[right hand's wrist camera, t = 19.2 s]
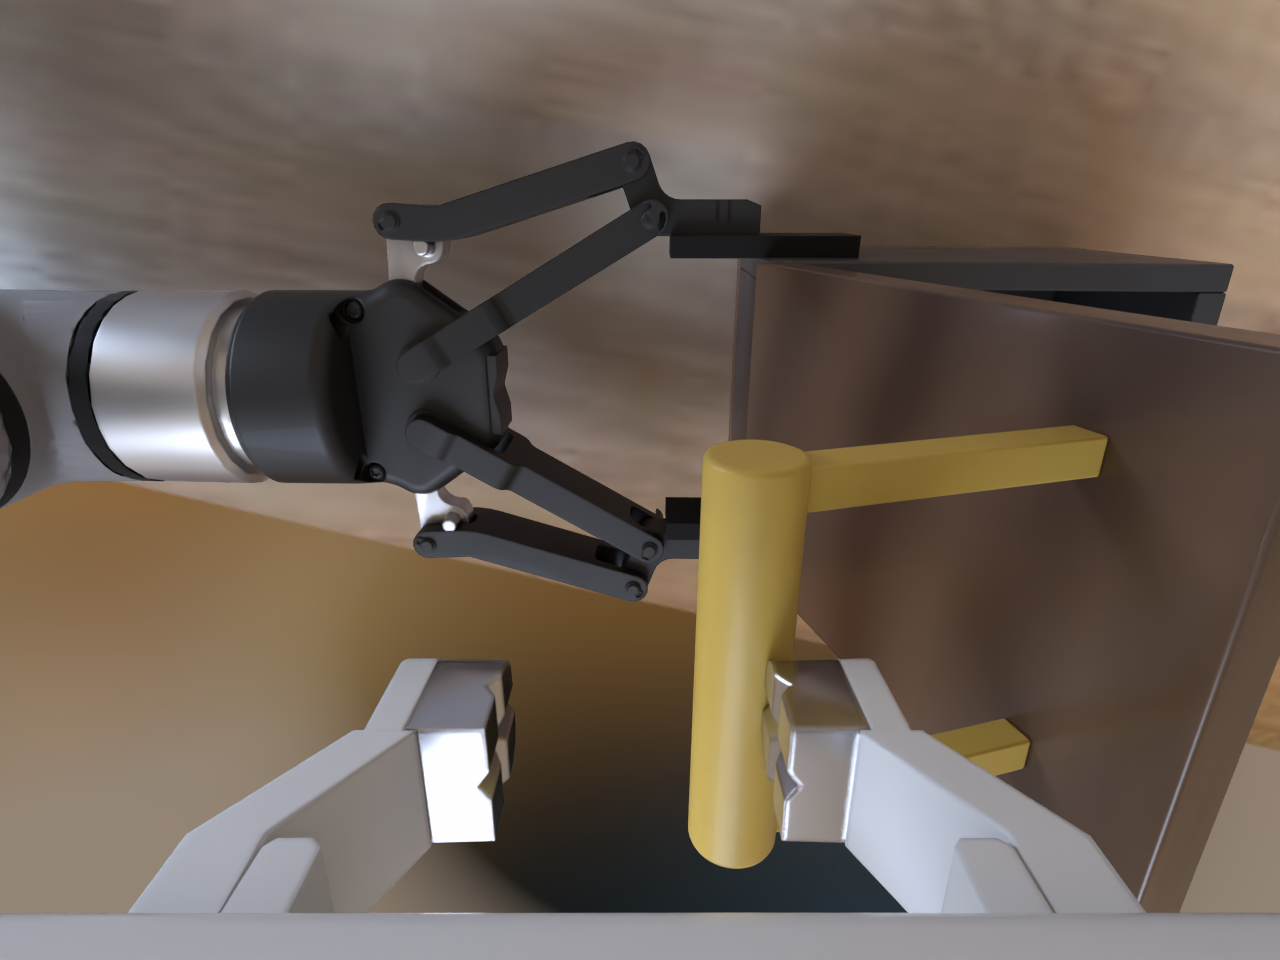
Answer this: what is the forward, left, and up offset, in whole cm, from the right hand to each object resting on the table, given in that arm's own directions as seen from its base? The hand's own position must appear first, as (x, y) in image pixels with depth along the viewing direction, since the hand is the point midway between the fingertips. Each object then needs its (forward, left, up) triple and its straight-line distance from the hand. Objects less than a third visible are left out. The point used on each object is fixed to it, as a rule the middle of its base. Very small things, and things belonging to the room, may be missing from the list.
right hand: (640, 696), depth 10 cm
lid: (-7, -1, -8) cm, 10 cm away
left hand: (-7, -1, -19) cm, 20 cm away
